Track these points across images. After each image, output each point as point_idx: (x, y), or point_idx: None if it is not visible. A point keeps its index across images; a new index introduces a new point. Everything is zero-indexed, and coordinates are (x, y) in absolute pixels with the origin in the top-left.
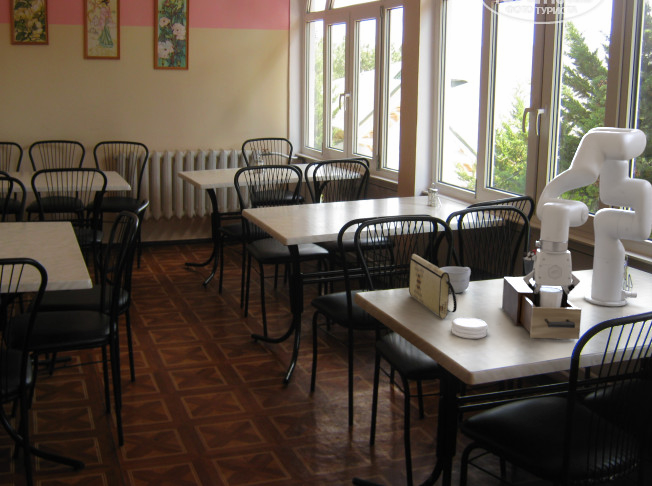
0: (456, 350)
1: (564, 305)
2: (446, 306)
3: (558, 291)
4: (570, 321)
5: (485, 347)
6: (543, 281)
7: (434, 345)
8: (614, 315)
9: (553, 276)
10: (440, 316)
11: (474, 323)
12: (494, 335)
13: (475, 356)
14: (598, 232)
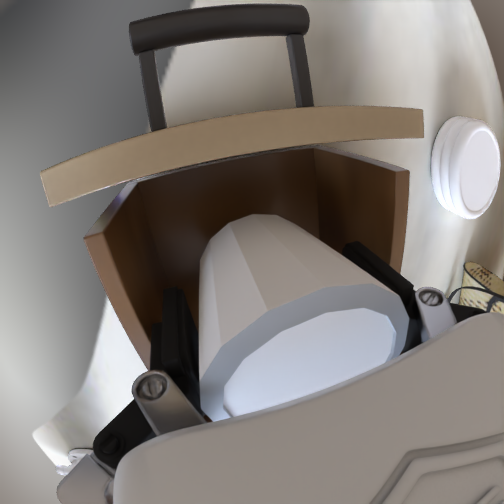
0: (474, 45)
1: (170, 293)
2: (481, 280)
3: (248, 368)
4: (145, 83)
5: (437, 52)
6: (491, 351)
7: (497, 81)
8: (62, 417)
9: (446, 479)
10: (472, 262)
11: (476, 164)
12: (412, 156)
13: (447, 2)
14: None
